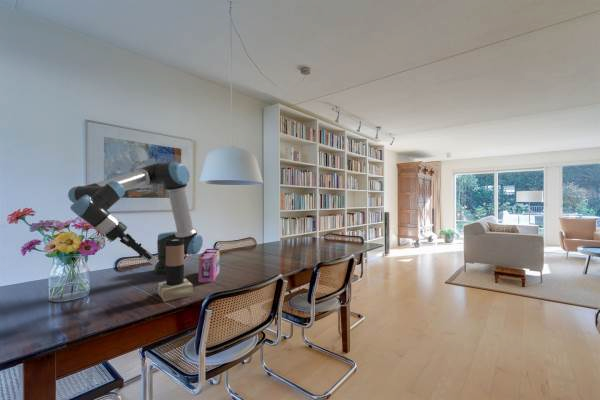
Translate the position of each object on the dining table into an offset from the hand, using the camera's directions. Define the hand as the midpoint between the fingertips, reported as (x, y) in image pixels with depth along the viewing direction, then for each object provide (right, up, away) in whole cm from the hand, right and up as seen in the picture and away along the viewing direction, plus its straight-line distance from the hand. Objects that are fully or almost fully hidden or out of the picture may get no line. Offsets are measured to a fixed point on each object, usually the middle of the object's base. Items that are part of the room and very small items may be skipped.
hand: (153, 260), depth 121 cm
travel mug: (+7, -12, +6) cm, 15 cm away
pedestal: (+7, -17, +6) cm, 19 cm away
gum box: (+13, -17, +35) cm, 41 cm away
